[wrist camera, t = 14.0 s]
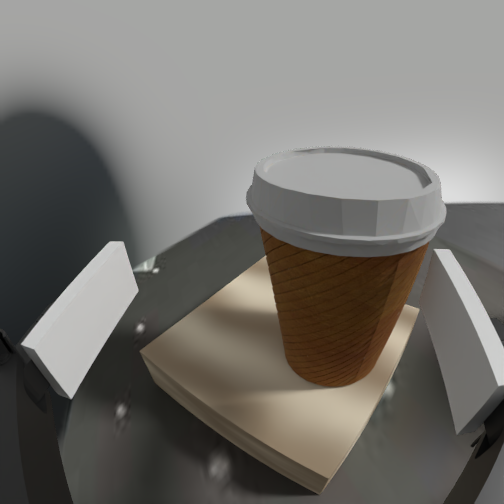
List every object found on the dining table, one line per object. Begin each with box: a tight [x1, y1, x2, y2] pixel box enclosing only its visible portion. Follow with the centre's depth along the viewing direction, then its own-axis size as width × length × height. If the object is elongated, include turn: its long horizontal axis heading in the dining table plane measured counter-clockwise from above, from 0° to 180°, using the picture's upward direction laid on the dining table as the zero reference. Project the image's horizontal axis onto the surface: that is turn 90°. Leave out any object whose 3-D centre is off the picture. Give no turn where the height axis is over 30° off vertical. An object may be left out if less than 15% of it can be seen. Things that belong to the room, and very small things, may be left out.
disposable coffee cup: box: [246, 146, 446, 387], centre depth 16 cm, size 10×10×12 cm
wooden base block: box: [140, 256, 419, 495], centre depth 22 cm, size 15×15×4 cm
